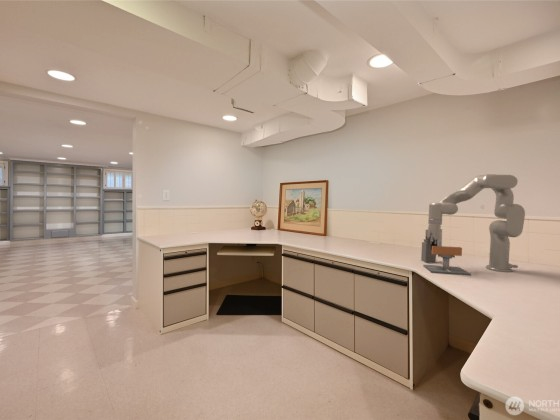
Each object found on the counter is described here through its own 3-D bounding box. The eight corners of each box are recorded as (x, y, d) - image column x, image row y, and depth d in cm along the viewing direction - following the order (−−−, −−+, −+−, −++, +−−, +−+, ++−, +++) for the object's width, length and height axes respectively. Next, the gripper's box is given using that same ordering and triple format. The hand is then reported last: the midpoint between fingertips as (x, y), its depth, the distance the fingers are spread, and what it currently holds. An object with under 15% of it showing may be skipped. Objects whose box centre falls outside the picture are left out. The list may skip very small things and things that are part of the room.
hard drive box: (431, 251, 222) (432, 228, 221) (441, 252, 216) (442, 229, 215) (424, 253, 212) (425, 229, 211) (434, 255, 206) (435, 230, 205)
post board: (458, 268, 167) (459, 256, 167) (470, 275, 152) (471, 262, 151) (423, 266, 172) (423, 254, 171) (431, 272, 156) (432, 259, 156)
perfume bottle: (431, 260, 187) (432, 236, 186) (435, 263, 181) (436, 237, 180) (421, 260, 188) (422, 235, 187) (425, 262, 181) (426, 237, 180)
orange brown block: (458, 256, 163) (458, 246, 162) (463, 259, 156) (463, 248, 156) (430, 255, 166) (430, 245, 166) (433, 257, 160) (434, 247, 160)
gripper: (433, 221, 174) (431, 247, 174) (424, 222, 164) (423, 250, 165) (445, 221, 168) (444, 249, 169) (437, 223, 158) (436, 252, 159)
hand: (433, 250), depth 167 cm, fingers closed
